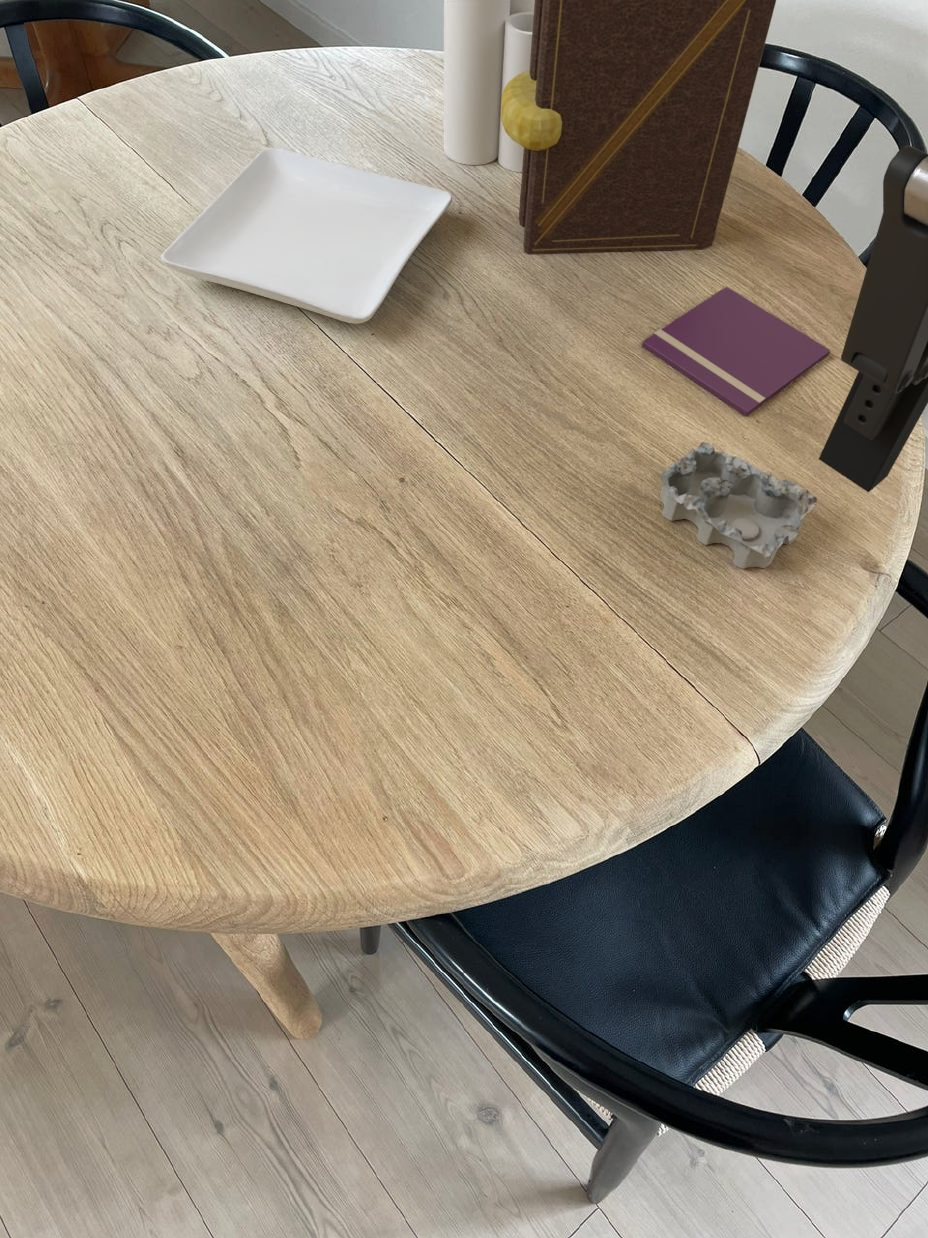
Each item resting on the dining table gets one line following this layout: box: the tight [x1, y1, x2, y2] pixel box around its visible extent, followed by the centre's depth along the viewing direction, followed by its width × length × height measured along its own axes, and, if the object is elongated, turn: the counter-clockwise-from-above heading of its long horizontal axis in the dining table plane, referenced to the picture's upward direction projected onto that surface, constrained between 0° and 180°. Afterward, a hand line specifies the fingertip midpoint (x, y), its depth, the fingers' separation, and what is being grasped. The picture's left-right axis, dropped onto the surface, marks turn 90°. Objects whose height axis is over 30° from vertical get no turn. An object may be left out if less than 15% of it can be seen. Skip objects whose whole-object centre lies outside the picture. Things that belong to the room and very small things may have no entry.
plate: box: [160, 147, 453, 325], centre depth 93 cm, size 21×21×3 cm
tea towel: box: [641, 286, 831, 417], centre depth 88 cm, size 12×12×1 cm
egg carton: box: [658, 441, 818, 570], centre depth 75 cm, size 11×8×4 cm
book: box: [501, 0, 777, 255], centre depth 88 cm, size 22×8×25 cm, turn 94°
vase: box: [443, 0, 535, 173], centre depth 98 cm, size 11×7×20 cm, turn 78°
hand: (852, 467), depth 44 cm, fingers closed
